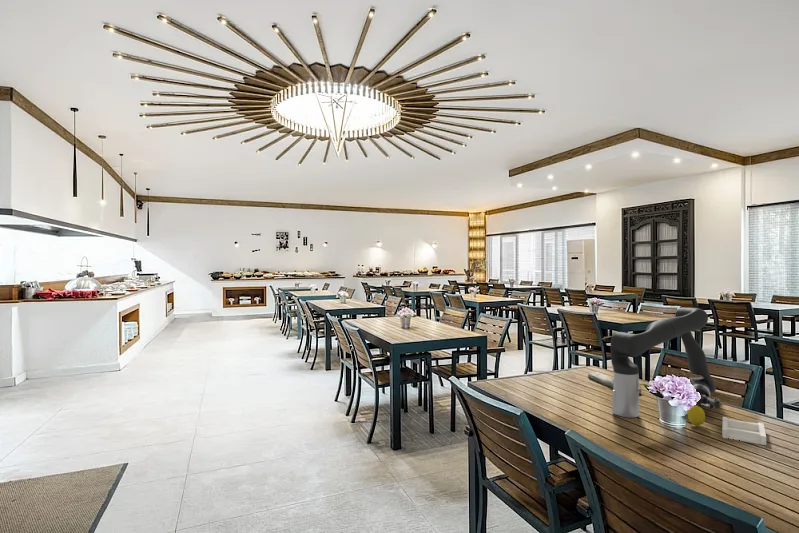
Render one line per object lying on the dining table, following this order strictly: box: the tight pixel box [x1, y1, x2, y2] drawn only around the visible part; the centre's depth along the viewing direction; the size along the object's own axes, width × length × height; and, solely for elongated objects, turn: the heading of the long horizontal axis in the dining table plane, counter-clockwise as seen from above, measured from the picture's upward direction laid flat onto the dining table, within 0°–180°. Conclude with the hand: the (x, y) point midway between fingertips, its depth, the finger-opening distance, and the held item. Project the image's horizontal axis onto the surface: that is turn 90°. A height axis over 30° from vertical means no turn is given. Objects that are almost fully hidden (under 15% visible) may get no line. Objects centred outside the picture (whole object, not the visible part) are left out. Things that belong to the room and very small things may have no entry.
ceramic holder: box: [721, 416, 767, 446], centre depth 161 cm, size 12×15×3 cm
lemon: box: [687, 405, 706, 427], centre depth 169 cm, size 6×6×8 cm
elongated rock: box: [587, 371, 642, 394], centre depth 226 cm, size 35×5×10 cm
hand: (697, 404), depth 176 cm, fingers open, 8 cm apart
